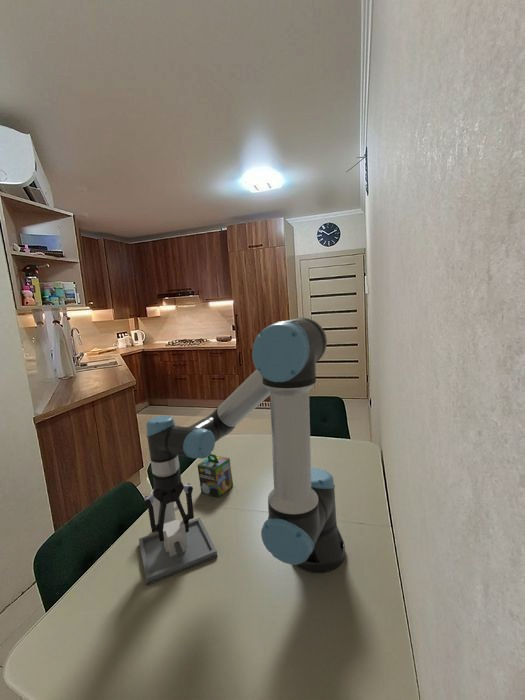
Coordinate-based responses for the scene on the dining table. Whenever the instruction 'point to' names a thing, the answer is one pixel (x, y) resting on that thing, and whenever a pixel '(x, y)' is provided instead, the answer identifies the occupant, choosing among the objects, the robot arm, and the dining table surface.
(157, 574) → the tray
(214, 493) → the chalk box
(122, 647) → the dining table surface
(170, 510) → the mug
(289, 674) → the dining table surface
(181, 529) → the connector
